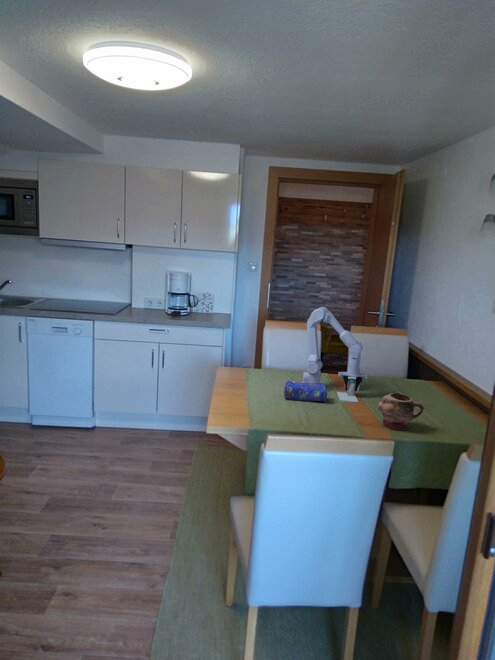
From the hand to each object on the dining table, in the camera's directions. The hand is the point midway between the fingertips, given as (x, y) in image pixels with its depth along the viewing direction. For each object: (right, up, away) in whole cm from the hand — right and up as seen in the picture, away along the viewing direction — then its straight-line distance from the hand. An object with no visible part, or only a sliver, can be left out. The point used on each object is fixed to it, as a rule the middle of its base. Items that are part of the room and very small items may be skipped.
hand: (350, 390), depth 228 cm
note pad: (-2, -3, -2) cm, 4 cm away
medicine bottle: (+4, -1, +13) cm, 14 cm away
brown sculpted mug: (+13, -11, -34) cm, 38 cm away
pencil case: (-25, -4, -9) cm, 27 cm away
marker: (0, -2, 0) cm, 3 cm away
